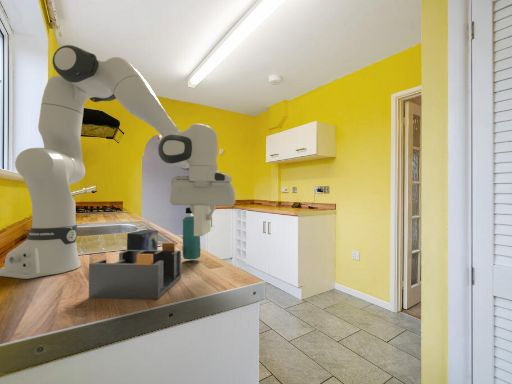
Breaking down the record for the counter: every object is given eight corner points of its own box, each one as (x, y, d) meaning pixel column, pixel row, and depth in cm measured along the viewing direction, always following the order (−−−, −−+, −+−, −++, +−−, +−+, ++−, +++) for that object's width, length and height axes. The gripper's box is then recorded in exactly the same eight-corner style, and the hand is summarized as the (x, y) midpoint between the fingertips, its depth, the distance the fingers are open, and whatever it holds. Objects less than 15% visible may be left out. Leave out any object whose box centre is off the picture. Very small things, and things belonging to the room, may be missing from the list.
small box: (141, 262, 88) (141, 233, 88) (125, 261, 90) (125, 233, 90) (158, 255, 99) (158, 229, 99) (144, 254, 100) (144, 229, 100)
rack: (88, 297, 58) (89, 254, 59) (125, 276, 73) (125, 241, 74) (158, 299, 58) (158, 255, 58) (180, 277, 73) (181, 242, 73)
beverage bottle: (204, 260, 92) (204, 207, 92) (192, 264, 86) (192, 207, 86) (190, 258, 95) (190, 206, 95) (178, 262, 89) (178, 207, 89)
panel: (193, 236, 72) (194, 205, 72) (202, 231, 82) (203, 204, 82) (202, 236, 72) (202, 205, 72) (210, 231, 82) (210, 204, 82)
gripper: (167, 175, 74) (166, 220, 74) (233, 175, 73) (232, 221, 73) (174, 176, 81) (174, 218, 81) (236, 177, 80) (235, 219, 79)
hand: (202, 220), depth 77 cm, fingers closed on panel, 2 cm apart
